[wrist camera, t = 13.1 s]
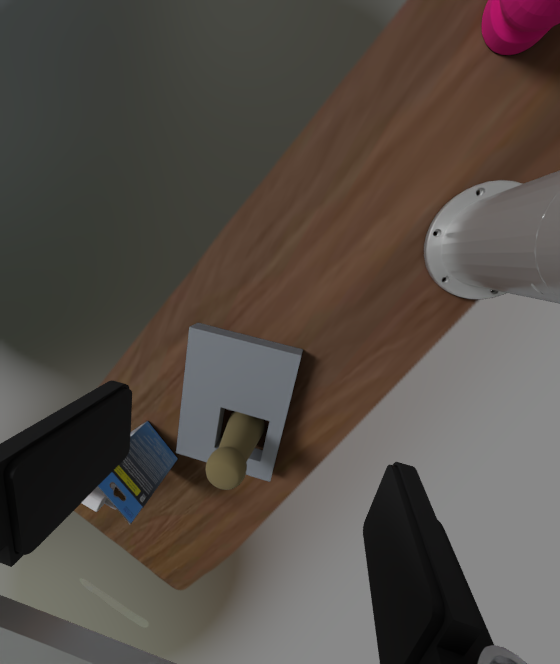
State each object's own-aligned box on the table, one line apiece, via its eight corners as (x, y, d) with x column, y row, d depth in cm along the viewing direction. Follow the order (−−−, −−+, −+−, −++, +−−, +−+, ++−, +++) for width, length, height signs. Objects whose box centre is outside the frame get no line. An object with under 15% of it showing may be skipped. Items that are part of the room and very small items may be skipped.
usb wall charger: (98, 470, 52) (80, 487, 48) (129, 489, 52) (113, 507, 48) (93, 483, 53) (75, 501, 49) (123, 501, 53) (107, 520, 49)
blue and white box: (133, 428, 47) (70, 485, 35) (148, 419, 46) (88, 475, 34) (164, 466, 48) (112, 533, 37) (179, 458, 47) (131, 525, 36)
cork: (224, 410, 43) (191, 460, 33) (259, 405, 42) (236, 455, 31) (235, 442, 44) (207, 500, 34) (269, 438, 43) (251, 496, 32)
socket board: (303, 349, 38) (301, 355, 36) (272, 469, 44) (269, 481, 42) (197, 322, 39) (189, 326, 37) (183, 442, 46) (176, 452, 44)
